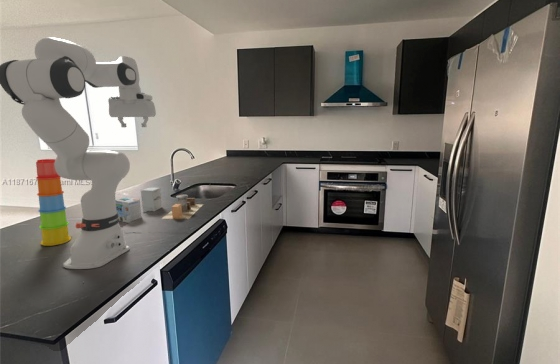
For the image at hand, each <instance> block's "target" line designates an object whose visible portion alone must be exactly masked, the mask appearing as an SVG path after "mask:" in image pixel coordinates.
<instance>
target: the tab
mask: <svg viewBox="0 0 560 364" xmlns="http://www.w3.org/2000/svg"><path fill="white" fill-rule="evenodd" d="M171 211H172V217H173V218H180V217H181V216H182V208H181V204H178V203H175V204H173V205H171Z"/></svg>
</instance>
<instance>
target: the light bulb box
mask: <svg viewBox="0 0 560 364" xmlns="http://www.w3.org/2000/svg"><path fill="white" fill-rule="evenodd" d="M115 201H116V211H117V213H118V216H119V222H122V223H127V224H130V223H132V222H133V221H135V220H139V219H141V218H142V217H143V216H142V208H141V199H139V198H133V197H127V196H126V197H122V198H119V199H115Z"/></svg>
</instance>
